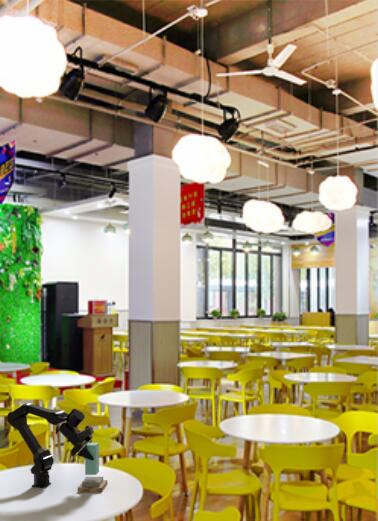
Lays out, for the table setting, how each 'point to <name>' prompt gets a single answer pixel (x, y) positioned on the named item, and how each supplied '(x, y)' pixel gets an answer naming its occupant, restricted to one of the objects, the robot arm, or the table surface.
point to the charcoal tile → (92, 482)
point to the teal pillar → (90, 465)
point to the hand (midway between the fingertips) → (94, 458)
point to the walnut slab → (93, 488)
